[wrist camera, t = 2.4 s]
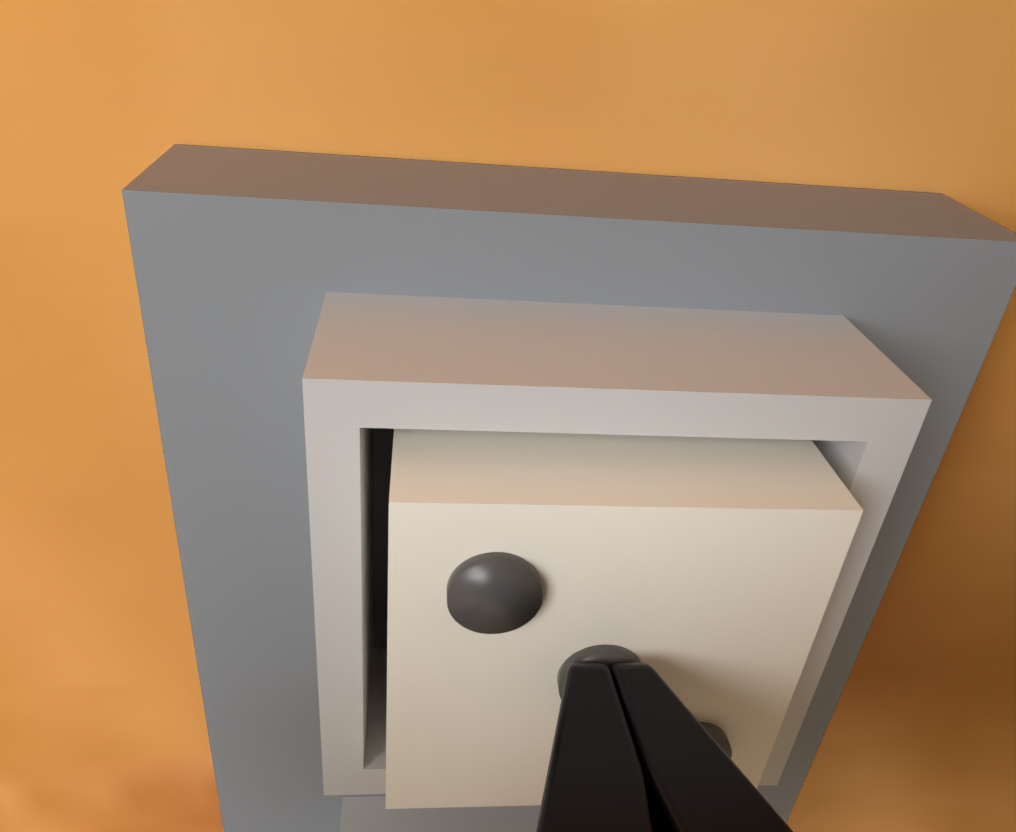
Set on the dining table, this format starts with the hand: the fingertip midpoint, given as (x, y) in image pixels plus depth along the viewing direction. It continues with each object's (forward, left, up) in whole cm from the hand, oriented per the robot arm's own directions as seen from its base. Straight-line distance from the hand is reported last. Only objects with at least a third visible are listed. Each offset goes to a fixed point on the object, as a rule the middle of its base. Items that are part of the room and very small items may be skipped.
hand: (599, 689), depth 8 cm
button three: (0, 0, -2) cm, 2 cm away
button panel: (-4, -8, -5) cm, 10 cm away
